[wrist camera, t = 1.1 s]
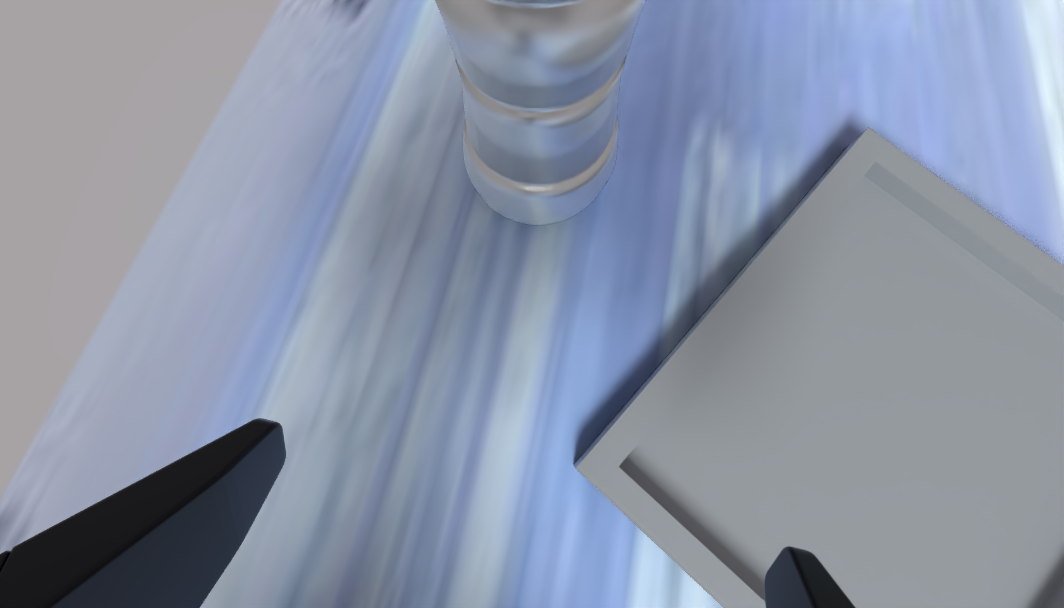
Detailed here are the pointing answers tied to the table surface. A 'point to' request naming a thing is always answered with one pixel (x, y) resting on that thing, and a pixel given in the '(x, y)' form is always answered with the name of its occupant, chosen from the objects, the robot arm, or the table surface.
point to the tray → (862, 405)
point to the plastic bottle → (540, 99)
